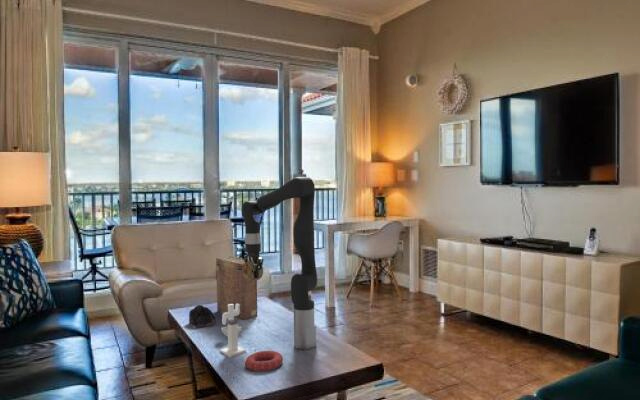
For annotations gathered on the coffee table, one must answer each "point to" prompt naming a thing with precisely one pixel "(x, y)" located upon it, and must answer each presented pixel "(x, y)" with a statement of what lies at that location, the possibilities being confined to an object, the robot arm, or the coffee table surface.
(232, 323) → the post
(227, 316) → the figurine
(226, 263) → the brown wooden box
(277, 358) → the torus
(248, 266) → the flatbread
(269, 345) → the coffee table surface
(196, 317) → the black rough rounded lump
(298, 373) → the coffee table surface
